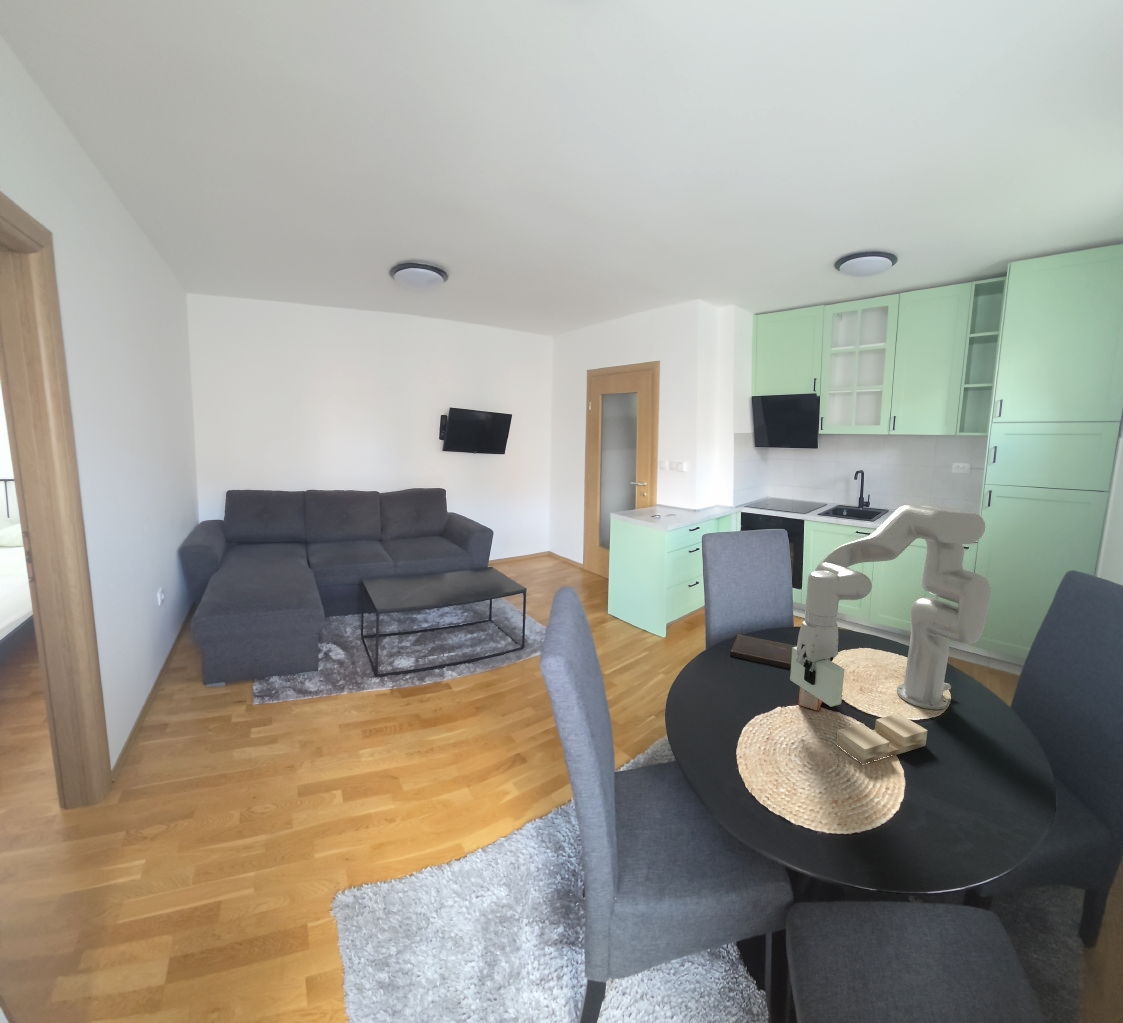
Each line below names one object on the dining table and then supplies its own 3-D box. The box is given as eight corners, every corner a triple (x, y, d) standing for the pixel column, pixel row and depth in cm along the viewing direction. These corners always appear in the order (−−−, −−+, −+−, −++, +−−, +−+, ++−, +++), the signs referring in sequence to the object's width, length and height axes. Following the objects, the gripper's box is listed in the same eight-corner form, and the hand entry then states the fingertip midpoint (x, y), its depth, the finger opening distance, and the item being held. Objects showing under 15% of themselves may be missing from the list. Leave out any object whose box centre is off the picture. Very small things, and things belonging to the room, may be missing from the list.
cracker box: (819, 712, 146) (826, 646, 142) (797, 705, 150) (803, 640, 145) (828, 691, 157) (836, 629, 153) (808, 685, 160) (814, 624, 156)
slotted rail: (896, 727, 139) (898, 713, 138) (925, 745, 131) (927, 730, 131) (835, 745, 132) (837, 730, 131) (862, 765, 124) (864, 749, 123)
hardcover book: (737, 639, 194) (737, 634, 193) (803, 652, 183) (803, 647, 183) (729, 657, 180) (730, 651, 180) (800, 672, 169) (801, 666, 169)
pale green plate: (799, 677, 144) (802, 645, 142) (841, 703, 131) (844, 668, 129) (790, 679, 143) (792, 647, 141) (830, 706, 130) (834, 671, 128)
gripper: (832, 607, 138) (827, 668, 142) (785, 617, 133) (780, 680, 137) (856, 618, 132) (850, 681, 135) (807, 628, 126) (802, 694, 130)
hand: (815, 680), depth 136 cm, fingers closed on pale green plate, 3 cm apart
